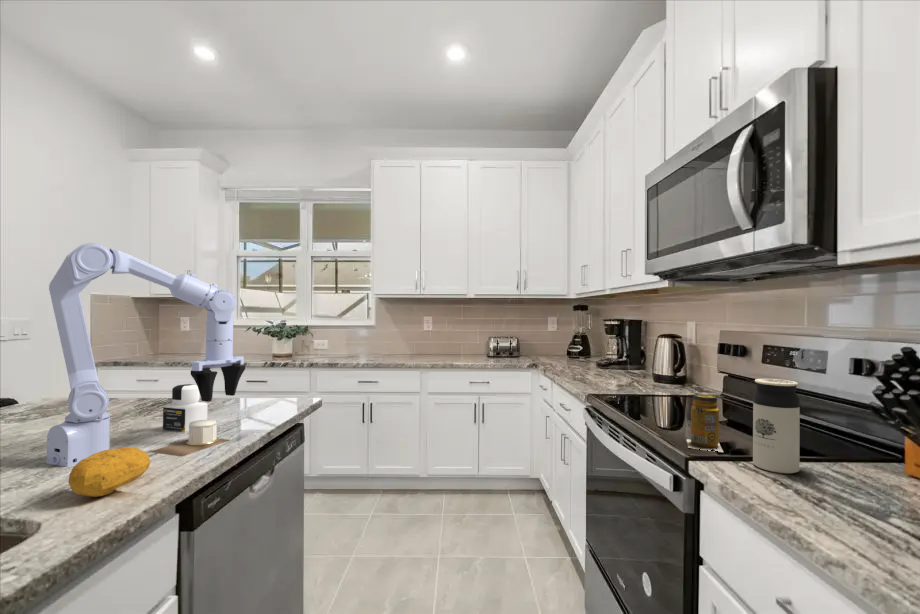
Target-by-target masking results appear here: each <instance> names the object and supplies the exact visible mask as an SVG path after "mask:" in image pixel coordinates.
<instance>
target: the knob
mask: <svg viewBox="0 0 920 614" xmlns="http://www.w3.org/2000/svg"><path fill="white" fill-rule="evenodd" d="M219 439H220V438H219V437H217V438H216V440H214V441H212V442H208V443H201V444H192V443H190V442H189V439H187V440H188V441H187V440H186V441H187V445H189V446H204V445H210V444H214V443H216V442H218V441H219Z"/></svg>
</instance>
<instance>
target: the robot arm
mask: <svg viewBox="0 0 920 614" xmlns="http://www.w3.org/2000/svg"><path fill="white" fill-rule="evenodd" d="M110 269H111V274H112V275H119V274H120V275H121V274H122V275H123V274H129V275H133V276H136V277H138V278H141V279H143V280H146V281H148V282H150V283H154V284H157V285H159V286H162V287H165V288H166V289H169V291H170V293H171V295H172V297H173V298H176V299H179V300H181V301H183V302H186V303H189V304H192V305H194V306H196V307H198V308H204V309H205V311H206V321H205V324H206V325H205V331H206V332H205V359H202V360H201V359H200V360H197V361H192V362H191V370H190V376H191V377H192V379H193V380H194V382H195V385H197V386H198V389H199V392H200V396H199V397H200V398H201V399H200V400H201V402H207V403H208V402H209V403H210V402H212V400H213V393H214V386H215V385H214V384H215V380H216V377H217V375H218V371H215V370H212V369H216V368H220V370H221V372H222V376H223V381H224V393H225V396H230V397H231V396H233V397H234V396H235V395H236V392H237V388H238V384H239V381H240V379H241V377H242V375H243V374H244V372H245V370H246V365H244V363H245V362H244V359H245V356H241V355H239V356H238V355H237V356H234V311H235V310H236V307H237V306H238V301H237V300H236V298H235V295H234V294H233V293H232V292H231V291H229V290H227V289H218V287H219V284H218V285H217V284H216V283H212V284H210V283H209V282H205V281H203V280H201V279H199V278H197V277H198V275H196V274H194V273H190V274H187V273H182V274H178V275H174V274H173V273H170V272H169V271H166V270H163V268H160V267H158V266H155V265H153V264H151V263H149V262H146V261H145V260H142V259H141V258H138V257H135V256H134V255H132V254H129V253H126V252H124V251H121V250H118V249H115V248H111V247H110V248H107V247H106V246H104V245H102V244H101V243H98V242H97V243H96V242H87V243H82V244H80V246H77V247H76V248H75V249H73V250H72V251H71V252H70V253H68V254H67V255H66V257H65V258H64V260H63V261H62V263H61V265H60V267H59V268H58V270H57V271H56V273H55V275H54V276H53V278H52V279H51V281H50V283H49V285H48V289H49V295H50V299H51V304H52V307H53V313H54V318H55V322H56V326H57V331H58V336H59V339H60V345H61V347H62V348H61V349H62V352H63V357H64V362H65V367H66V371H67V375H68V382H69V387H70V392H69V395H68V398H67V399H68V405H67V406H68V407H67V408H68V411H69V414H68V415H67V416H65V417H64V421H63V422H61V423H59V424H56V425H54V426H52V427H50V428H49V430H48V431H47V436H46V458H45V460H46V464H47V465H51V466H52V465H53V466H60V467H66V468H67V467H68V468H69V467H74V466H75V465H76V464H78V463H79V462H80V461H81V460H82V459H85V458H87V457H89V456H91V455H93V454H95V453H98V452H101V451H104V450H110V446H111V445H110V444H111V443H110V440H111V439H110V438H111V435H110V433H111V431H110V430H111V413H110V412H107V410H108V408H109V406H110V399H109V396H108V394H107V391H106V389H105V388H104V386H102V385H101V384H100V381H99V377H98V376H99V375H98V372H97V368H96V365H95V364H96V362H95V358H94V353H93V350H92V345H91V339H90V336H89V331H88V326H87V321H86V318H85V312H84V307H83V303H82V298H81V292H82V291H83V290H84V289H86V287H87V286H88V285H90V283H91V281H93V280H96V279H97V278H99V277H101V276H103V275H105V274H106V273H107V272H108V271H109V270H110Z"/></svg>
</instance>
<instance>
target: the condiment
mask: <svg viewBox="0 0 920 614" xmlns="http://www.w3.org/2000/svg"><path fill="white" fill-rule="evenodd" d="M719 416H720V410H719V408H718V398H717V396H715V395H709V394H699V393H698V394H694V395H693V396H692V405H691V407H690V438H689V439H686V444H687V448H688V449H689V448H690V449H693V450H699V449H700V448H701V449H700V450H701V451H707V450H708V452H712V451H711V450H712V449H713V448H717V449H714V450H715V451H718V453H724V450H723V448H722V446H721V444H720V440H719V438H720V433H719V431H720V429H719V428H720V417H719ZM710 449H711V450H710ZM715 451H714V452H715Z"/></svg>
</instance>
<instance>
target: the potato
mask: <svg viewBox="0 0 920 614" xmlns="http://www.w3.org/2000/svg"><path fill="white" fill-rule="evenodd" d="M150 465H151V459H150V457H149V454H148V453H147V452H146V451H144V450H142V449H140V448H137V447H132V446H124V447H118V448H112V449H109V450H104V451H101V452H98V453H95V454H93V455H91V456H89V457H87V458H85V459H82V460H81V461H80V462H79V463H78V464H76V465H73V466H72V467H73V468H72V469H71V471H70V473H69V477H68V484H69V486H70V489H71V491H72V492H73V493H75V494H76V495H79V496H82V497H92V498H98V497H99V496H100V497H104V496H106V495H109V494H111V493H113V492H115V491H116V490H117V489H118V488H120V487H123V486H125V485H127V484H130V483H131V482H133V481H135V480H137V479H138V478H139V477H140V476H142V475H143V474H144V473H145V472H146V471H147V470H148V469H149V468H150Z"/></svg>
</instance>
